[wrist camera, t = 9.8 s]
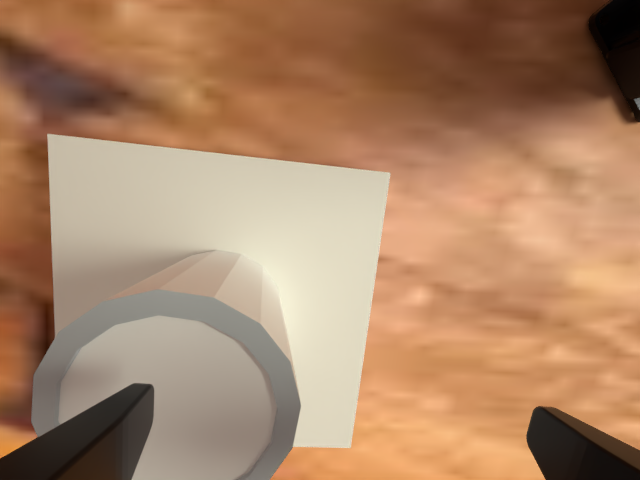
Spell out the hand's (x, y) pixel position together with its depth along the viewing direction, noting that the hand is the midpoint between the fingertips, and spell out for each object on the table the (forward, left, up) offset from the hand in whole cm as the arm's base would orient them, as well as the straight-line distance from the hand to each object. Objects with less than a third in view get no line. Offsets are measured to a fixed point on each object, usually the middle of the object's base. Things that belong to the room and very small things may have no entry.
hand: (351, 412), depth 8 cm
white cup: (+4, -2, -9) cm, 10 cm away
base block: (+4, -2, -11) cm, 12 cm away
